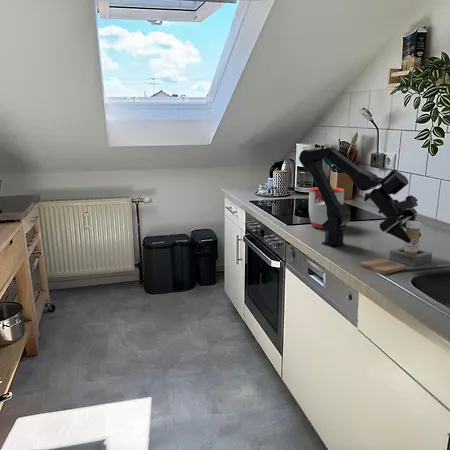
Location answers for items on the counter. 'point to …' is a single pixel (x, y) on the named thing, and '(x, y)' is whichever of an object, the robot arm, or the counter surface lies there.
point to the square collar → (410, 257)
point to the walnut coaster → (382, 266)
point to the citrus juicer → (321, 205)
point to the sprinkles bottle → (412, 237)
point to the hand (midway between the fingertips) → (415, 239)
